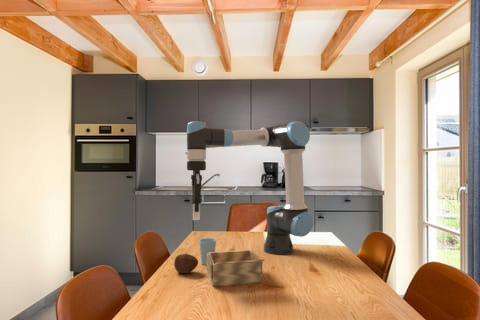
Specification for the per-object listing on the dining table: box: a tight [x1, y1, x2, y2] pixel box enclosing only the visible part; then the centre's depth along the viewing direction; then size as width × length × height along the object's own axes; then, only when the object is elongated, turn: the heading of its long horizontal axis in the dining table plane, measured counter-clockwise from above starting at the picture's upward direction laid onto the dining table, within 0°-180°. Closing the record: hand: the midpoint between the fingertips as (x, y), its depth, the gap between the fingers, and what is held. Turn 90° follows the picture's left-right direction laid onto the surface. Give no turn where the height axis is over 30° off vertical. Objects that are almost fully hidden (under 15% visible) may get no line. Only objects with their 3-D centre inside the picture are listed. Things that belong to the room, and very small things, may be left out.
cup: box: [198, 237, 217, 266], centre depth 141 cm, size 8×8×10 cm
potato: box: [173, 253, 199, 274], centre depth 128 cm, size 7×10×8 cm
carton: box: [206, 249, 263, 288], centre depth 123 cm, size 20×17×8 cm
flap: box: [215, 258, 265, 265], centre depth 112 cm, size 17×1×6 cm
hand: (196, 219), depth 124 cm, fingers closed
